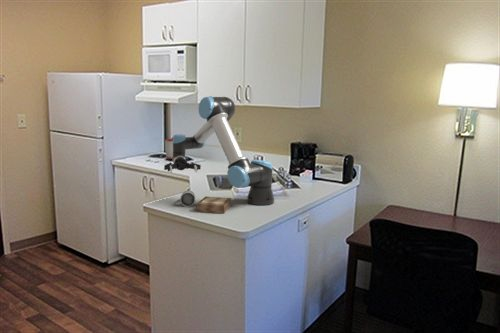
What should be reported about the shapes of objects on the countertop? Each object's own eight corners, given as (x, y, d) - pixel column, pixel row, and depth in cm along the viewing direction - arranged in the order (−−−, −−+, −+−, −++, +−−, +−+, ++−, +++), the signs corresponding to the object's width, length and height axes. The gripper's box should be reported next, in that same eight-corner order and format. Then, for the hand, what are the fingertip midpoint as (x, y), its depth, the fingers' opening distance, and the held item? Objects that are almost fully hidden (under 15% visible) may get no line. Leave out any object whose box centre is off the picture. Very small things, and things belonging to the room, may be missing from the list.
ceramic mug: (195, 202, 223) (194, 188, 222) (195, 206, 215) (194, 192, 214) (175, 203, 222) (174, 189, 220) (174, 207, 214) (174, 192, 212)
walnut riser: (230, 205, 219) (231, 197, 218) (224, 213, 204) (224, 205, 204) (205, 203, 221) (205, 195, 221) (197, 211, 207) (197, 203, 206)
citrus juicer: (186, 160, 355) (186, 137, 351) (166, 161, 350) (165, 137, 346) (183, 157, 370) (183, 135, 366) (163, 158, 364) (163, 135, 361)
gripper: (201, 168, 249) (206, 176, 228) (158, 169, 242) (160, 177, 222) (201, 156, 247) (206, 163, 227) (158, 156, 241) (160, 163, 221)
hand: (184, 170), depth 225 cm, fingers open, 13 cm apart
